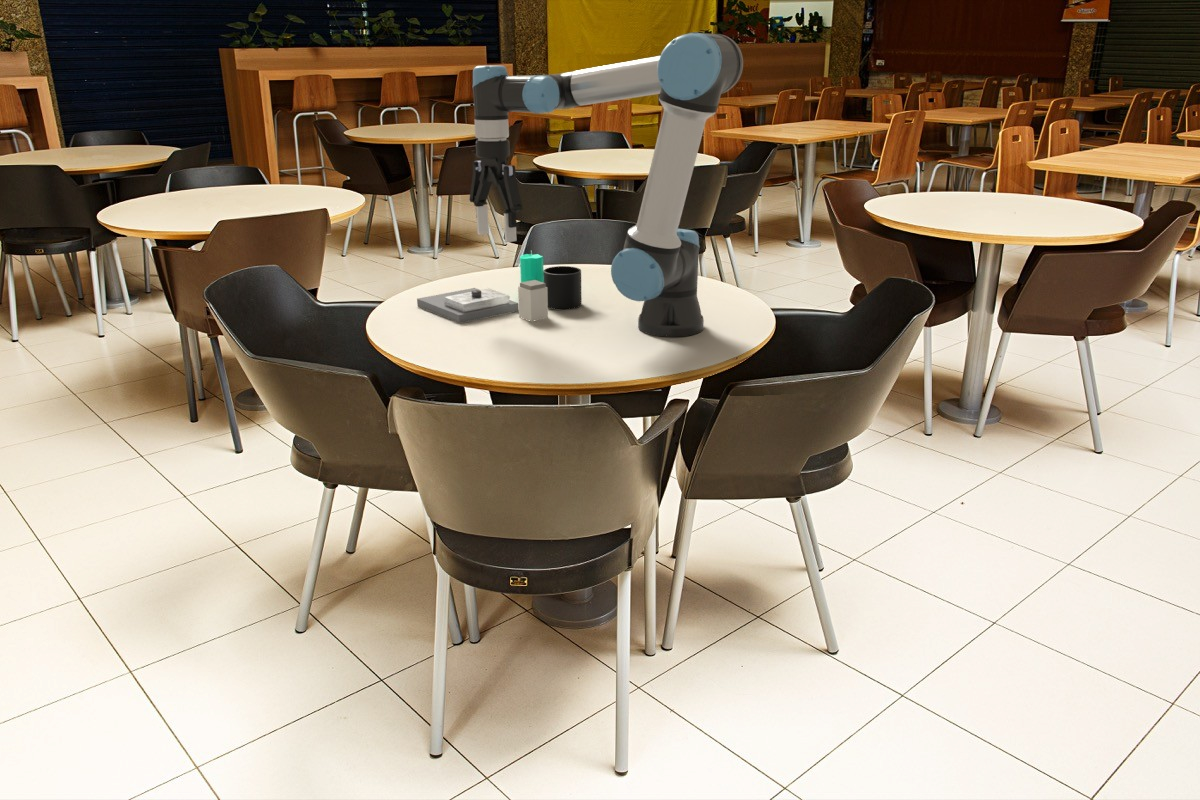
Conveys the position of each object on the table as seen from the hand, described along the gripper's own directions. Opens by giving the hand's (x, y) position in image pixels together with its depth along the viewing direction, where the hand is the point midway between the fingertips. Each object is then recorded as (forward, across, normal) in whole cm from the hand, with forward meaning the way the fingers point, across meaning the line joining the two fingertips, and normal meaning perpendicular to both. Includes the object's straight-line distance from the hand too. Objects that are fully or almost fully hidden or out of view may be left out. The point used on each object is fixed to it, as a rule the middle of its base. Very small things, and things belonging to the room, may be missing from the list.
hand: (496, 237), depth 214 cm
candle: (+20, +14, -20) cm, 32 cm away
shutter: (+18, +10, 0) cm, 20 cm away
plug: (+20, -3, -8) cm, 22 cm away
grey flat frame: (+20, +14, 0) cm, 25 cm away
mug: (+20, +2, -21) cm, 29 cm away
